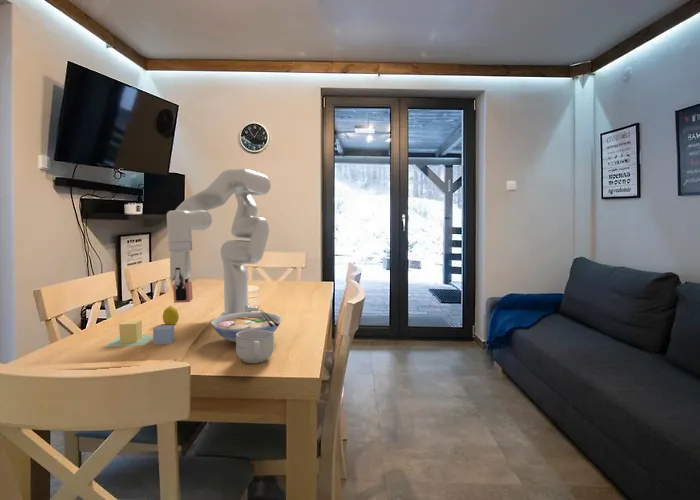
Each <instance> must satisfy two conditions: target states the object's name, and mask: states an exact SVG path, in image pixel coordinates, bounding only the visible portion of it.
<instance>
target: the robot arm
mask: <svg viewBox="0 0 700 500" xmlns="http://www.w3.org/2000/svg"><path fill="white" fill-rule="evenodd" d="M270 190H271V180H270V179H269V177H268V176H267V175H265V174H264V173H260V172H258V171H257V172H256V171H254V170H251V169H247V168H238V169H237V168H234V169H232V168H231V169H226V170H223V171H222V172H221V173H220V174H219V175H218V176H216V178H215V179H214V180H213V181H212V182H211V184H209V185H208V187H206V188H205V189H203V190H201V191H198V193H195V194H194V195H191V196H189V197H188V198H186V199H185V200H183V201H182V202H181V203H180V204H179V205H178V206H177V207H176V208H175V210H168V211H167V213H166V228H167V242H168V243H167V244H168V252H169V253H170V255H169V256H170V257H169V258H170V259H169V270H170V271H169V273H170V274H169V275H170V277H169V278H170V280H171V281H172V282H173V281H174V285H176V300H177V301H181V300H186V288H185V282H190V277H191V275H192V262H191V253H190V251H193V239H192V231H205V230H206V229H209V228H210V226H211V225H212V223H213V218H212V215H211V214H210V212H209V211H210V210H214V209H217V208H219V207H221V206H223V205H225V204H226V202H228V200H229V199H230V197H232V195H233V194H234V195H235V199H236V201H237V208H236V211H235V216H234V218H233V220H232V221H233V222H232V225H231V229H230V230H231V231H230V232H231V235H232V237H234V238H236V239H231V240H226V241H225V242H223V243H222V245H221V246H220V257H221V262H222V266H223V267H222V268H223V297H224V298H223V299H224V300H223V302H224V303H223V304H224V307H223V308H224V311H222V312H221V313H220V316H224V315H228V314H234V313H242V312H260V310H259V309H260V306H256V305H253V306H251V305H250V303H249V295H248V294H249V293H248V292H249V288H248V286H249V284H248V281H249V280H248V277H249V275H248V270H247V268H246V266H245V265H244V264H247V265H255V264H258V263H260V262H261V260H262V259H263V256H264V253H265V250H266V246H267V242H268V238H269V234H270V226H269V223H268V221H267V219H266V218H264V217H262V216H257V214H258V205H257V203H256V202H255V200H254V198H253V197H252V196H265V195H267V194H268V193H269V192H270Z"/></svg>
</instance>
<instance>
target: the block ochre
mask: <svg viewBox="0 0 700 500" xmlns="http://www.w3.org/2000/svg"><path fill="white" fill-rule="evenodd" d="M142 322H143V321H142V319H133V320H132V319H131V320H124V321H122V322H121V323H119V324H118V326H119V336H120V343H132V342H138V341H139V340H140V339H141V338H142V335H143V329H142V327H143V326H142Z"/></svg>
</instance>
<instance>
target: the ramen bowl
mask: <svg viewBox="0 0 700 500" xmlns="http://www.w3.org/2000/svg"><path fill="white" fill-rule="evenodd" d="M281 322H282V316H280V315H279V314H276V313H271V312H265V311H264V310H263V309H260V308H259V311H251V312H242V313H234V314H228V315H224V316H221V315H220V316H218V317H215V318H213V319H212V320H211V322H210V323H211V326H212V328H213V329H214V330H215V331H216V333H217V334H218V335H220V336H221V337H222V338H223V339H225V340H226V341H230V342H233V343H236V333H238V332H240V331H245V330H267V331H271V332H273V333H274V334H275V331H276V330H277V329H278V327H279V326H280V324H281Z"/></svg>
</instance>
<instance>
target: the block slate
mask: <svg viewBox="0 0 700 500" xmlns="http://www.w3.org/2000/svg"><path fill="white" fill-rule="evenodd" d="M152 335H153V338H152V339H153V340H152V341H153V345H171V344H172V343H173V342H174V341H175V324H174V325H166V324H165V325H157V326H156V327H155V328H153V329H152Z"/></svg>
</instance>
